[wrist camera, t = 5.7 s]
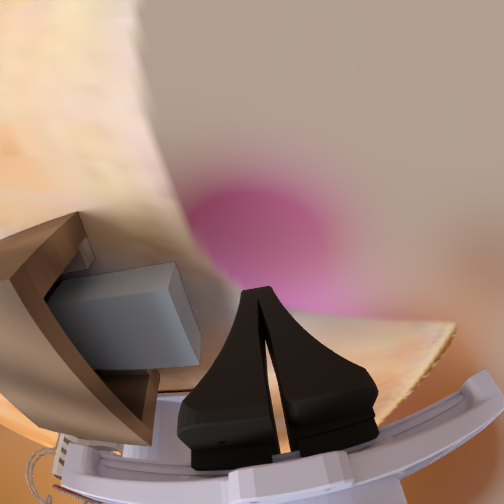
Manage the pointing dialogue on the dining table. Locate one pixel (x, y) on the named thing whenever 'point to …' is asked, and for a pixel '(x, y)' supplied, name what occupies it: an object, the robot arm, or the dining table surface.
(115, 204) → the dining table surface
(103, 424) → the overhang shelf
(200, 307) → the dining table surface
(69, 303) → the grey rectangular block
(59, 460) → the french press
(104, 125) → the dining table surface
